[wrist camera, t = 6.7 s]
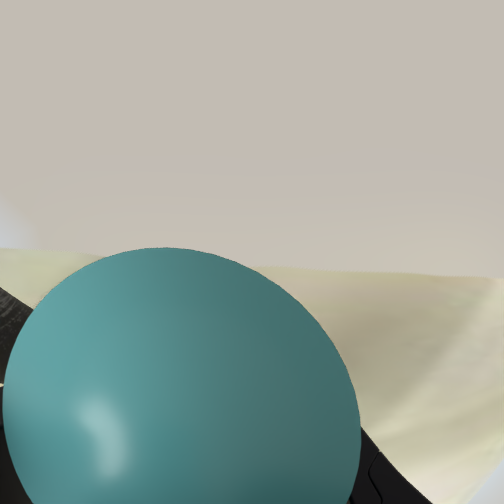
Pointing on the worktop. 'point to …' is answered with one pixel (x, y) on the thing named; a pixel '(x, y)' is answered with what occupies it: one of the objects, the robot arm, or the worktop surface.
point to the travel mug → (10, 326)
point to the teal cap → (178, 389)
